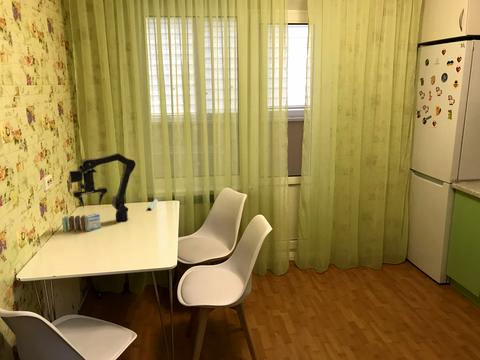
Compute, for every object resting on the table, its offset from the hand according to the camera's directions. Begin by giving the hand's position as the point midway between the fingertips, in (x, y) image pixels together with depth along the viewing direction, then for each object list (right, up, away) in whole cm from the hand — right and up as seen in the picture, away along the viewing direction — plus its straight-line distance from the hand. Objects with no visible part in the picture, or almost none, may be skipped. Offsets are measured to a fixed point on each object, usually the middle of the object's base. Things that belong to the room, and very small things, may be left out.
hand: (91, 205), depth 235 cm
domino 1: (-3, -14, -3) cm, 14 cm away
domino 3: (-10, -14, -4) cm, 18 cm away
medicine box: (+2, -14, -3) cm, 14 cm away
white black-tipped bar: (+25, -4, +43) cm, 51 cm away
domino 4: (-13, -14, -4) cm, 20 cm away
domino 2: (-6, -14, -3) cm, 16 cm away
